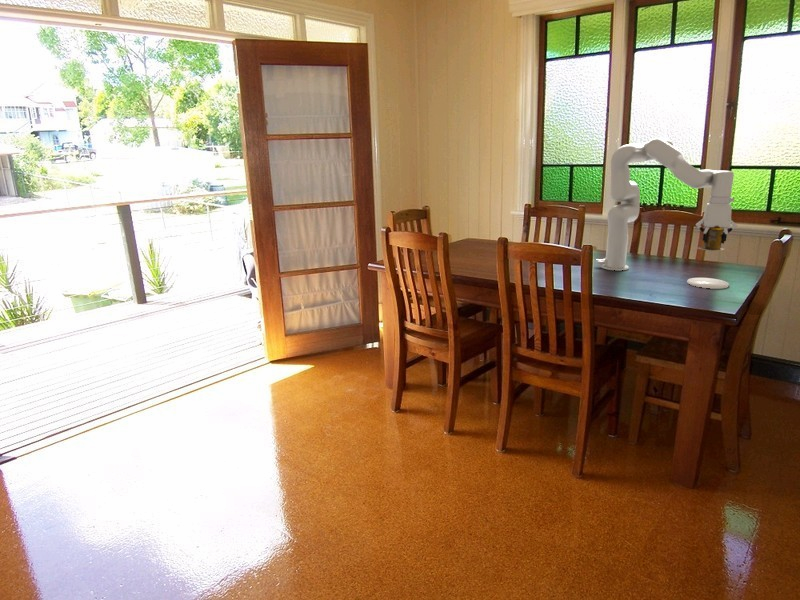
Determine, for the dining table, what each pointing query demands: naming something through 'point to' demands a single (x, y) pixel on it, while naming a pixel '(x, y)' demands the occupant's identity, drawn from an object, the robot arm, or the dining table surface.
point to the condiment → (713, 239)
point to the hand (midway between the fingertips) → (713, 242)
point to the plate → (708, 283)
